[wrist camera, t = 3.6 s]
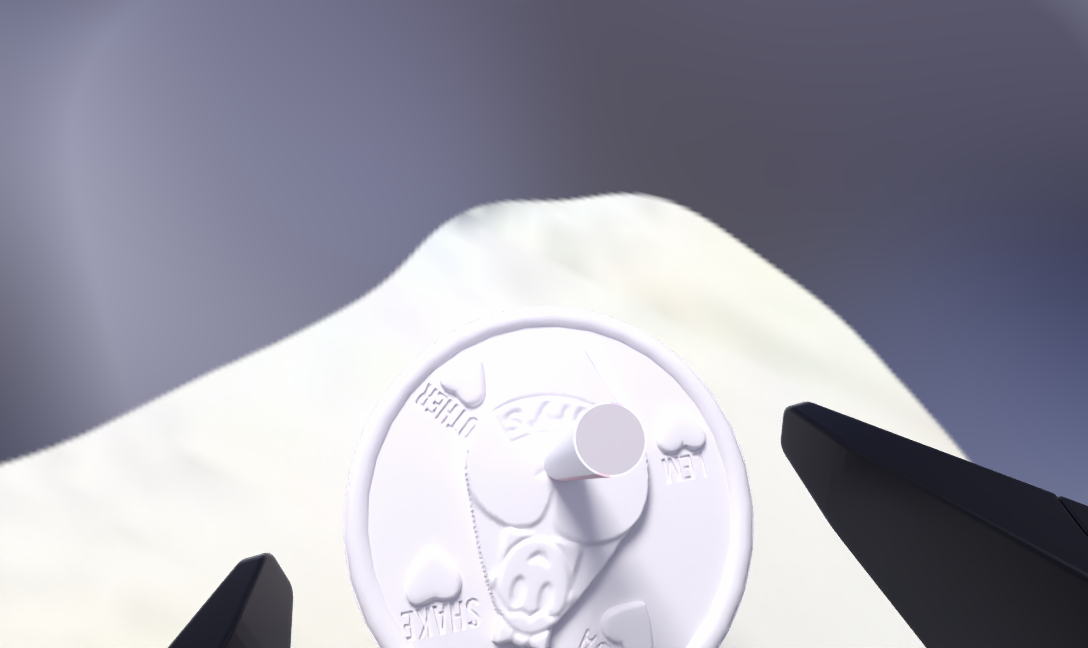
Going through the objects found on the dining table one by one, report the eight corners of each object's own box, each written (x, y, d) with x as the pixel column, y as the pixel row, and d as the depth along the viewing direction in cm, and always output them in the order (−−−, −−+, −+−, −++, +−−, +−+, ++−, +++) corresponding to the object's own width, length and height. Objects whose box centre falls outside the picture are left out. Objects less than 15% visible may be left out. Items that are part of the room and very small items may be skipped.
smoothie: (642, 418, 18) (1016, 227, 5) (608, 621, 16) (1087, 1317, 3) (464, 376, 18) (320, 69, 5) (409, 572, 16) (-106, 1001, 3)
